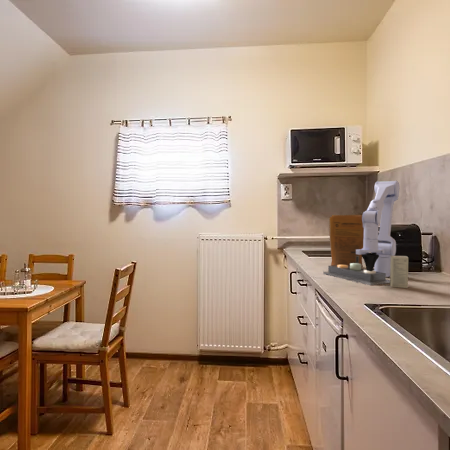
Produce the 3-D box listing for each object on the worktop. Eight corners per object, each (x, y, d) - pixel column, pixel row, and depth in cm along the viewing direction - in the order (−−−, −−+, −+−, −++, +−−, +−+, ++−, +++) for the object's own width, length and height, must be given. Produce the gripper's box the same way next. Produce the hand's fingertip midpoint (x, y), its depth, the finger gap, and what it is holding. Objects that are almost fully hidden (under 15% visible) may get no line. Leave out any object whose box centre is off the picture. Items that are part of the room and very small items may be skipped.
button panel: (342, 272, 178) (342, 264, 178) (391, 283, 153) (391, 273, 153) (323, 273, 173) (323, 265, 173) (370, 285, 148) (370, 275, 148)
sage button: (355, 270, 166) (355, 262, 166) (363, 271, 162) (363, 264, 162) (347, 270, 164) (347, 263, 164) (355, 272, 160) (355, 264, 160)
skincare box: (406, 286, 147) (407, 256, 147) (408, 288, 143) (409, 257, 143) (389, 284, 149) (390, 255, 149) (390, 287, 145) (391, 256, 145)
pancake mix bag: (365, 269, 190) (366, 214, 189) (327, 266, 197) (328, 214, 196) (365, 267, 196) (367, 214, 195) (329, 264, 204) (330, 214, 202)
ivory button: (369, 277, 159) (369, 269, 159) (378, 279, 155) (378, 271, 155) (360, 278, 157) (361, 270, 157) (369, 280, 153) (370, 271, 153)
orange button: (342, 271, 174) (342, 264, 173) (350, 273, 169) (350, 265, 169) (334, 272, 172) (334, 264, 171) (342, 273, 167) (342, 266, 167)
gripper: (375, 237, 162) (374, 268, 163) (350, 238, 156) (349, 270, 156) (388, 239, 156) (387, 270, 156) (363, 239, 149) (362, 273, 150)
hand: (369, 270), depth 156 cm, fingers closed, pressing on ivory button
